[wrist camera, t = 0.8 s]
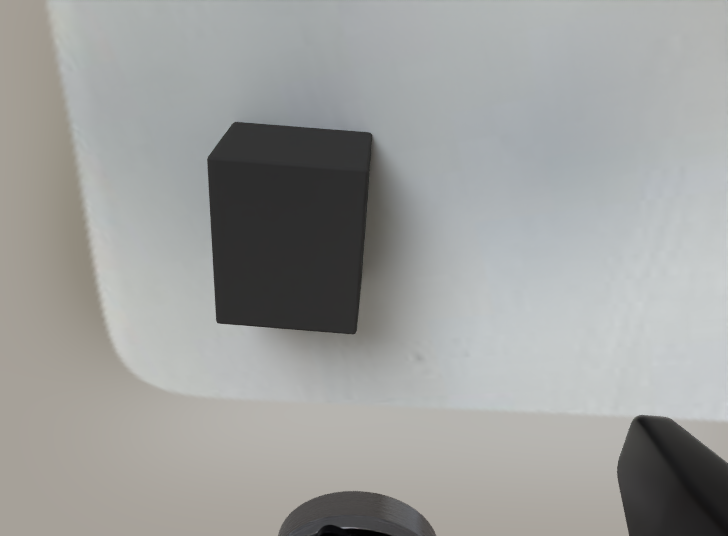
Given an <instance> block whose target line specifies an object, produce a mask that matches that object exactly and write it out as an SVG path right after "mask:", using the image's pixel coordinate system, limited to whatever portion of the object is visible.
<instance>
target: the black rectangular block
mask: <svg viewBox="0 0 728 536" xmlns="http://www.w3.org/2000/svg"><path fill="white" fill-rule="evenodd" d="M371 144H372V134H371V133H368V132H355V131H343V130H330V129H317V128H304V127H292V126H279V125H266V124H253V123H240V122H234V123H233V124H232V125H231V127H230V128H229V129H228V131H227V132H226V133H225V135H224V136H223V137H222V139H221V140H220V142H219V143H218V144H217V146H216V147H215V148H214V150H213V151H212V152H211V154H210V155H209V156H208V159H207V162H208V180H209V198H210V215H211V233H212V251H213V269H214V287H215V305H216V321H217V323H220V324H232V325H245V326H257V327H270V328H282V329H295V330H307V331H319V332H332V333H344V334H355V333H356V331H357V321H358V310H359V300H360V289H361V278H362V265H363V251H364V238H365V224H366V211H367V198H368V184H369V171H370V157H371Z"/></svg>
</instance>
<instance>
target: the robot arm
mask: <svg viewBox="0 0 728 536" xmlns="http://www.w3.org/2000/svg"><path fill="white" fill-rule="evenodd" d="M617 474H618V482H619V487H620V492H621V497H622V502H623V507H624V512H625V517H626V522H627V527H628V531H629V536H728V463H727V462H726V461H724V460H723V459H722V458H721V457H719V456H718V455H717V454H715V453H714V452H713V451H712V450H710V449H709V448H708V447H707V446H705V445H704V444H703V443H701V442H700V441H699V440H698V439H696V438H695V437H694V436H692V435H691V434H690V433H689V432H687V431H686V430H685V429H684V428H682V427H681V426H680V425H678V424H677V423H676V422H674V421H673V420H672V419H670V418H667V417H661V416H648V415H639V416H637V417H635V418H634V419H633V421H632V423H631V425H630V428H629V431H628V434H627V437H626V440H625V443H624V446H623V448H622V451H621V454H620V457H619V461H618V467H617ZM315 536H360V535H358V534H355V533H353V532H350V531H348V530H346V529H343V528H341V527H338V526H336V525H325V526H323V527H321V528H320V530H319V531H318V532H317V533H316V535H315Z"/></svg>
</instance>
